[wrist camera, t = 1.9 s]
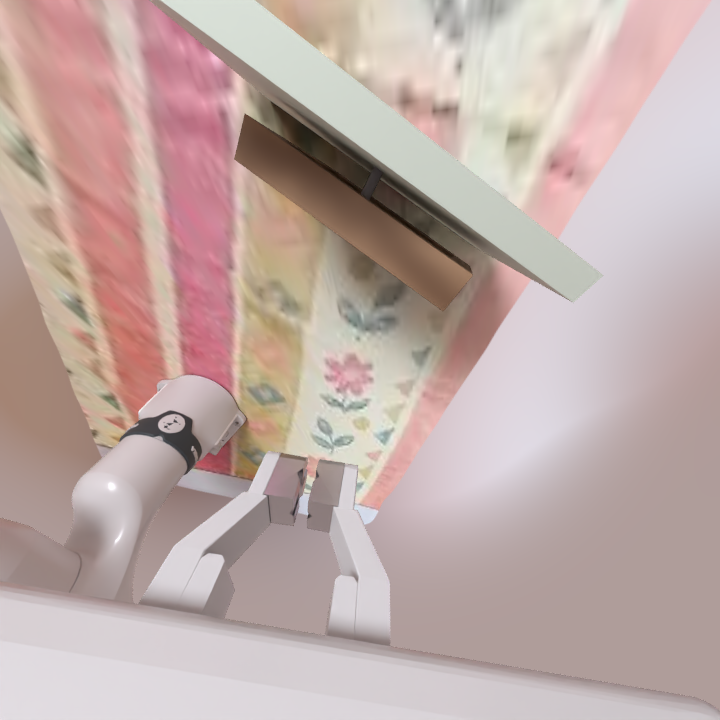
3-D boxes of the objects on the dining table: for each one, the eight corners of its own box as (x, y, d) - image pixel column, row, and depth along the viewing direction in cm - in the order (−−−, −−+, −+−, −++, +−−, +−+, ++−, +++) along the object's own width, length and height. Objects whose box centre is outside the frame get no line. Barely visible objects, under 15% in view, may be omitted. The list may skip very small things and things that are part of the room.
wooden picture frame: (451, 288, 31) (443, 311, 19) (321, 194, 32) (234, 159, 20) (469, 265, 29) (472, 275, 17) (331, 168, 31) (244, 113, 19)
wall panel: (460, 266, 37) (535, 336, 18) (262, 130, 31) (68, 25, 12) (503, 210, 33) (656, 227, 14) (285, 41, 27) (51, -318, 8)
